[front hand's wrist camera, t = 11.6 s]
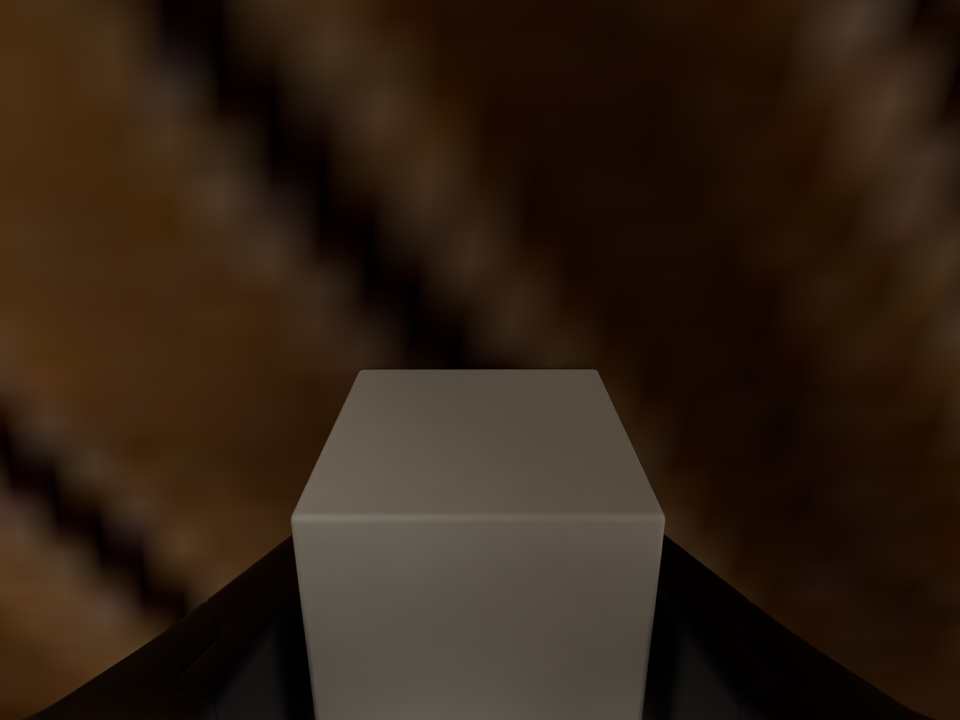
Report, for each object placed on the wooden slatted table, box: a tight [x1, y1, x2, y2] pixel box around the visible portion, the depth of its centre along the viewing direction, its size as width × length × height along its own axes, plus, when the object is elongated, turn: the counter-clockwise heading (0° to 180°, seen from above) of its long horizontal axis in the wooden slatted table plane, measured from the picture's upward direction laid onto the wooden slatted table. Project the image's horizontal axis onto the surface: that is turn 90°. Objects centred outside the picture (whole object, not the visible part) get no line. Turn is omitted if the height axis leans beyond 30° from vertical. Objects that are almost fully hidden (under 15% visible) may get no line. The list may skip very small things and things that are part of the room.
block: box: [291, 369, 665, 720], centre depth 10 cm, size 4×5×5 cm
